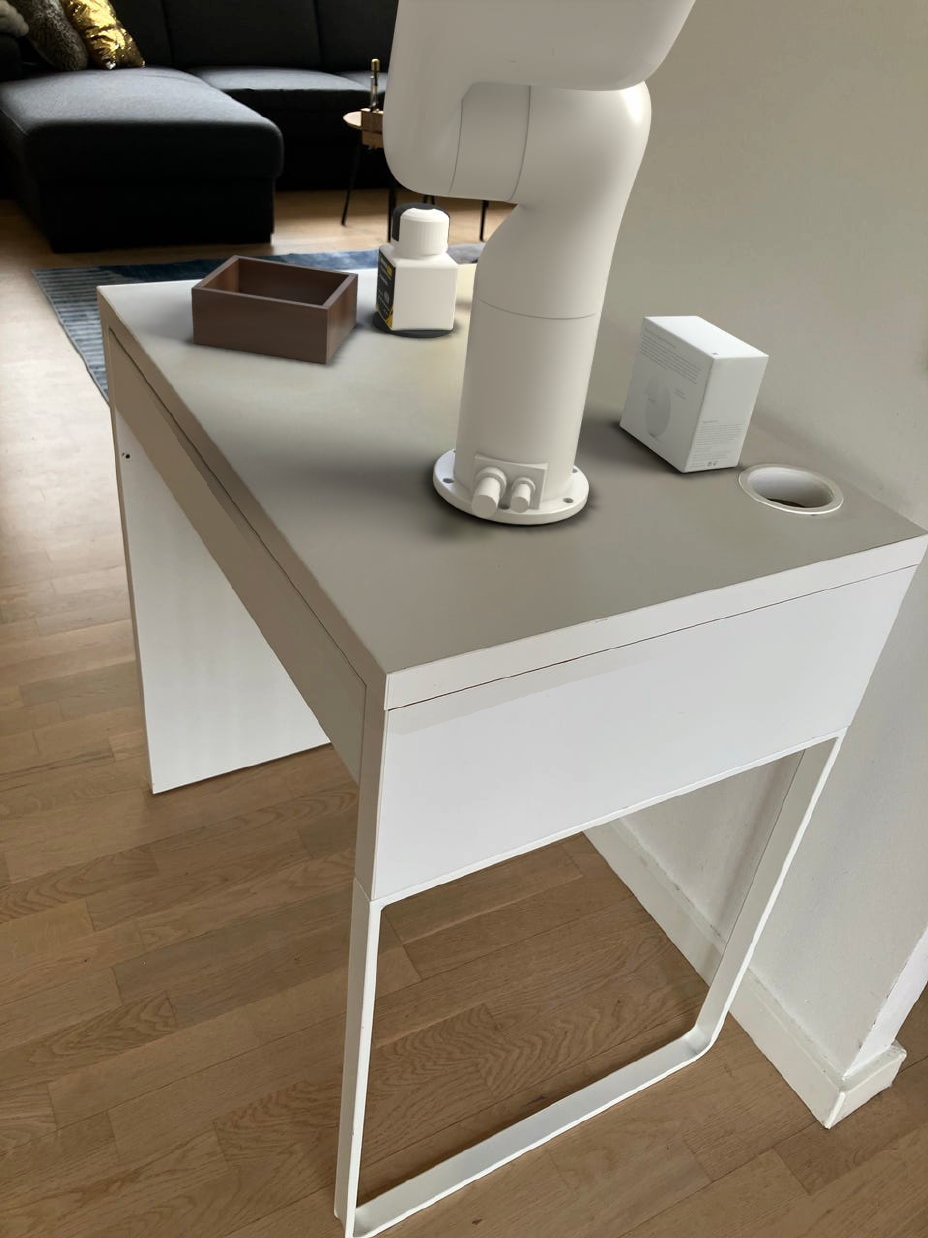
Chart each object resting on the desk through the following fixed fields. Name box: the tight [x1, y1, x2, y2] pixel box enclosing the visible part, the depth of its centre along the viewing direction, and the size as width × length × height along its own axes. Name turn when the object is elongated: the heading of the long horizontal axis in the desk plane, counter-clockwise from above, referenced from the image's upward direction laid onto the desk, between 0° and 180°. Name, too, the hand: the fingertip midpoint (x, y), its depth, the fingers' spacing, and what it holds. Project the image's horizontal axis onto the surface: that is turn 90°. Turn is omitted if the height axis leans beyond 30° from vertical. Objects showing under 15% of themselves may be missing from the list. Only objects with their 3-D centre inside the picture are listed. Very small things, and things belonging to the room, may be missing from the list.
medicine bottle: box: [375, 202, 460, 330], centre depth 110 cm, size 7×7×12 cm
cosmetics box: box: [619, 315, 770, 474], centre depth 91 cm, size 10×6×10 cm, turn 25°
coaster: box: [372, 310, 455, 339], centre depth 114 cm, size 9×9×1 cm
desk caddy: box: [190, 254, 359, 365], centre depth 106 cm, size 13×14×6 cm
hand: (499, 48), depth 89 cm, fingers open, 9 cm apart
